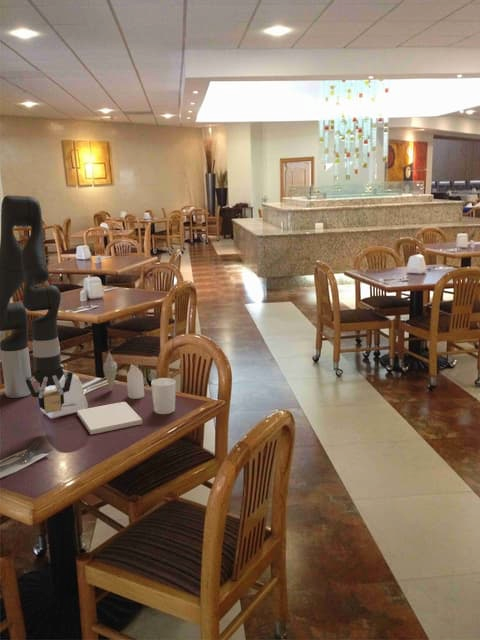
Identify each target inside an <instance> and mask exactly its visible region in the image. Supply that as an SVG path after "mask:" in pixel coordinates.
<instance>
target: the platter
mask: <svg viewBox="0 0 480 640" xmlns="http://www.w3.org/2000/svg"><path fill="white" fill-rule="evenodd" d="M76 412H77V413H76V414H77V417H79V419H80V420H81V422H82V424H83V425H84V427H85V429H87V431H88V432H89V434H90V435H94V434H95V435H96V434H101V433H105V432H110V431H114V430H119V429H120V430H121V429H124V428H128V427H134V426H139V425H143V419H142V417H140V415H139V414H137V413H136V411H134V409H133V408H132V407H131V406H130V405H129V404H128V403H127V402H126V401H120V402H115V403H110V404H105V405H100V406H99V405H98V406H94V407H93V406H92V407H89V408H83V409H78V410H76Z"/></svg>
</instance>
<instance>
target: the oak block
mask: <svg viewBox="0 0 480 640" xmlns="http://www.w3.org/2000/svg"><path fill="white" fill-rule="evenodd" d="M43 398H44V406H45V409H43V410H44V412H45V414H51V413H56V412H61V411H63V410H62V406H61V398H60V394H59V392H58V390H57V388H54V389H49V390H45V391H44V394H43Z"/></svg>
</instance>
